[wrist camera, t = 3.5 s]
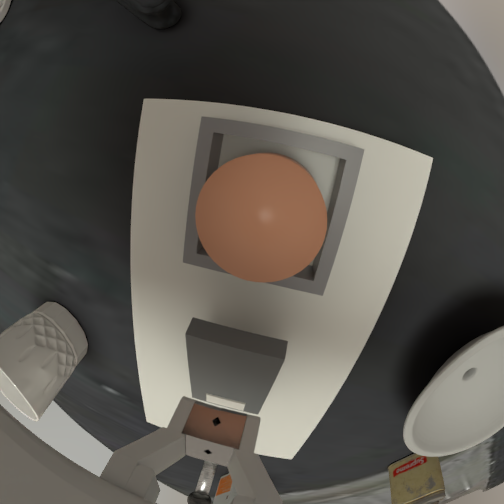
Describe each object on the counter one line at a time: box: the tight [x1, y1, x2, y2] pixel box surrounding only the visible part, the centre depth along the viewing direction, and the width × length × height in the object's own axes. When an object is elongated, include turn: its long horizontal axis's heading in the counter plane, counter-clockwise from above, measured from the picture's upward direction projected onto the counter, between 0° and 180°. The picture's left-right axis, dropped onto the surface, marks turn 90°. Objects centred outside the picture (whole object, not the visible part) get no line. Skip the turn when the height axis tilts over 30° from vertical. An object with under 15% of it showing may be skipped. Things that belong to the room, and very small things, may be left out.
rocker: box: [185, 317, 288, 415], centre depth 14 cm, size 8×4×1 cm, turn 169°
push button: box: [195, 153, 327, 283], centre depth 10 cm, size 4×4×2 cm
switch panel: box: [131, 99, 433, 459], centre depth 17 cm, size 26×14×5 cm, turn 169°
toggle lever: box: [187, 460, 217, 504], centre depth 16 cm, size 2×2×7 cm
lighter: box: [388, 453, 445, 504], centre depth 19 cm, size 7×4×10 cm, turn 138°
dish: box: [403, 326, 504, 457], centre depth 15 cm, size 18×14×5 cm
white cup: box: [0, 302, 88, 421], centre depth 19 cm, size 8×8×10 cm
